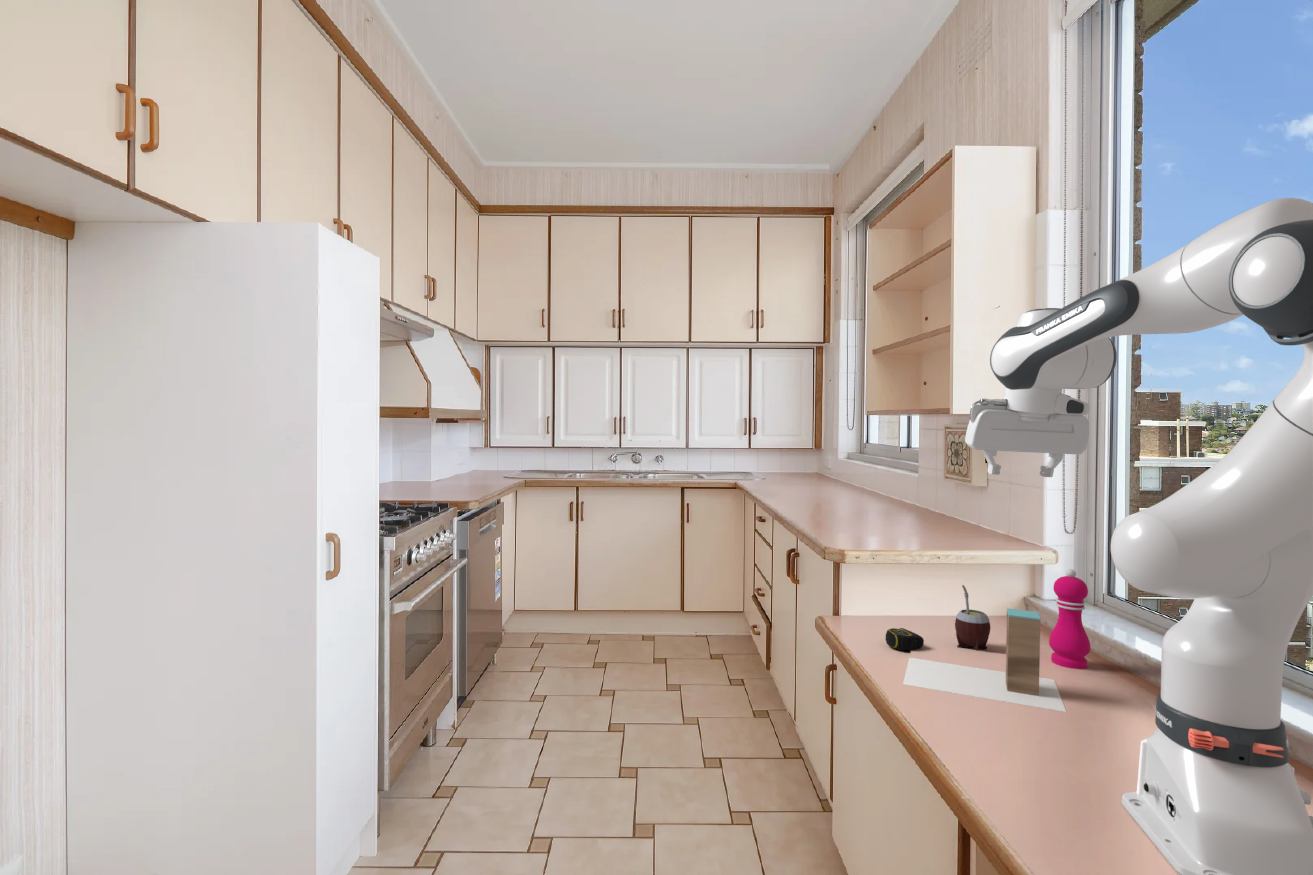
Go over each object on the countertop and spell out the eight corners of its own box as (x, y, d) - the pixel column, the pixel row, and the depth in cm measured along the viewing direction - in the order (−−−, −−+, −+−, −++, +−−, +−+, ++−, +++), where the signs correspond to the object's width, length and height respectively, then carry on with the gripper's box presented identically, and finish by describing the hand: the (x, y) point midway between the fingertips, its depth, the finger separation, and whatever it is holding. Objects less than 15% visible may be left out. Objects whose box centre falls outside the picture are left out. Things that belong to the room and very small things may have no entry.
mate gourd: (982, 643, 146) (983, 578, 146) (997, 655, 138) (998, 586, 138) (948, 642, 146) (949, 576, 146) (961, 654, 139) (962, 585, 138)
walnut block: (1038, 696, 115) (1040, 618, 115) (1007, 690, 118) (1008, 614, 118) (1035, 686, 120) (1037, 611, 120) (1005, 681, 122) (1007, 608, 122)
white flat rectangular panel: (1066, 714, 109) (1066, 711, 109) (902, 686, 120) (903, 684, 120) (1053, 682, 123) (1054, 679, 123) (909, 659, 135) (909, 657, 135)
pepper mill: (1093, 665, 133) (1095, 569, 133) (1086, 674, 127) (1088, 574, 127) (1052, 656, 138) (1054, 563, 138) (1044, 665, 132) (1046, 568, 132)
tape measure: (925, 652, 140) (925, 635, 140) (899, 654, 138) (899, 637, 138) (904, 642, 147) (904, 625, 147) (878, 644, 145) (879, 628, 145)
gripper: (979, 400, 112) (969, 476, 115) (1100, 405, 111) (1086, 482, 114) (964, 395, 119) (955, 468, 121) (1078, 400, 118) (1066, 473, 120)
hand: (1019, 475), depth 118 cm, fingers open, 8 cm apart
